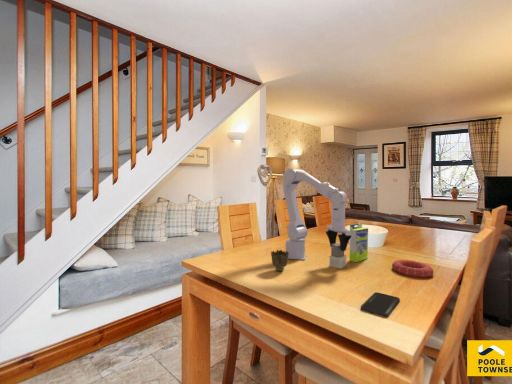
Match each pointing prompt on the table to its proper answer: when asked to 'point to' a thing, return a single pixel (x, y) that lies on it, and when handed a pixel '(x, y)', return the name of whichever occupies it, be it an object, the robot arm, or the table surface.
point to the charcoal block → (336, 250)
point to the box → (358, 243)
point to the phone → (380, 304)
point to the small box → (337, 261)
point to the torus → (412, 268)
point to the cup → (279, 259)
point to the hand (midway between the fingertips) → (337, 248)
